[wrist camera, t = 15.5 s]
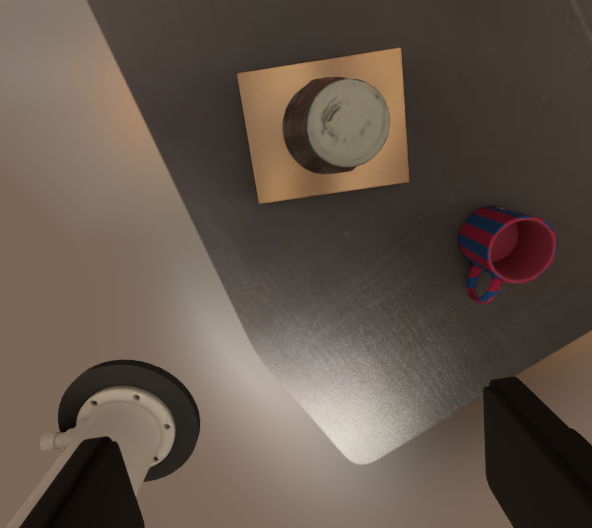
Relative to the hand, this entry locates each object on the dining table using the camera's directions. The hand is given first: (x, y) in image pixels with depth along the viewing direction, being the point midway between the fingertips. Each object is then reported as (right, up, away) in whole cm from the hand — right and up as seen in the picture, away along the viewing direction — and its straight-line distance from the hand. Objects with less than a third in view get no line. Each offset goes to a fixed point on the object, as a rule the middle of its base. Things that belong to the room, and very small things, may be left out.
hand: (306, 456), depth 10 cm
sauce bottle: (+2, +17, +28) cm, 33 cm away
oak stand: (+3, +19, +31) cm, 36 cm away
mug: (+21, +7, +35) cm, 41 cm away
